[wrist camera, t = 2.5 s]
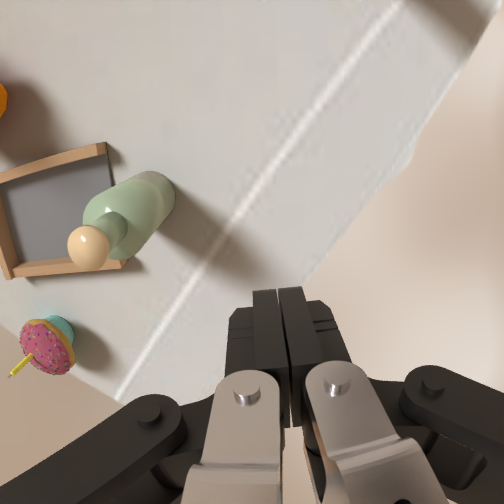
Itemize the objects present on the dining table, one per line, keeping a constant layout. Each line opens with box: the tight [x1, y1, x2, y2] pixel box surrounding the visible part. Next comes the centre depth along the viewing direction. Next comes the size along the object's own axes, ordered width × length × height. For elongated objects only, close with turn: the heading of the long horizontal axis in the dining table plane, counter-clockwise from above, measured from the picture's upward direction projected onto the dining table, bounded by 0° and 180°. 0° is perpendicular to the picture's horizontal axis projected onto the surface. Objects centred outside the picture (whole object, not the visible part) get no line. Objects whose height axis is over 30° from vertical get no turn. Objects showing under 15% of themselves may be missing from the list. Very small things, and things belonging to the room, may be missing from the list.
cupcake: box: [7, 316, 75, 378], centre depth 32 cm, size 9×8×12 cm
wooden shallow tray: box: [0, 142, 128, 280], centre depth 30 cm, size 18×13×3 cm
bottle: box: [67, 171, 175, 271], centre depth 25 cm, size 5×5×15 cm
